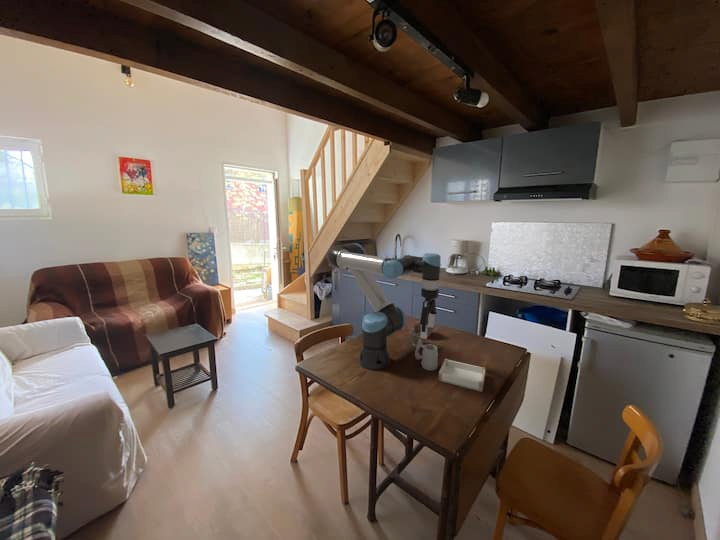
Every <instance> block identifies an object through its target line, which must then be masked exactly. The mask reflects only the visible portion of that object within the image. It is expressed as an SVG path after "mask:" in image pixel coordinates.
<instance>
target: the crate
mask: <svg viewBox="0 0 720 540" xmlns="http://www.w3.org/2000/svg"><path fill="white" fill-rule="evenodd" d="M437 377H438V379H437V380H438V381H439V382H442V383H445V384H446V383H447V384H450V385H454V386H457V387H461V388H465V389H469V390H473V391H477V392H481V393H483V389H484V384H485V377H486V367H484V366H478V365H473V364H469V363H465V362H460V361H455V360H451V359H448V358H444V360H443V363H442V364H441V368H440V369H439V371H438V375H437Z"/></svg>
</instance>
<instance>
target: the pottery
mask: <svg viewBox="0 0 720 540" xmlns="http://www.w3.org/2000/svg"><path fill="white" fill-rule="evenodd" d="M420 320H421V316H420V317H419V321H417V322H415V323H413V328H414V329H412V330H411V331H409V333H408V335H409V339H410V342H412V346H413V347H414V348H416V346H417V344H418V339H420V340H421V341H422V345H424V343H425V342H426V341H427V339H424V338H420V335H421V324H419V322H420ZM427 324H428V322H427ZM435 329H436V324H434V328H432V327H427V338H429V337H430V335H431V334H432V333H433V332H434V331H435Z"/></svg>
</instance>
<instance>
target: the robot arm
mask: <svg viewBox="0 0 720 540" xmlns="http://www.w3.org/2000/svg"><path fill="white" fill-rule="evenodd" d="M326 255H327V256H326V258H327V261H328V264H329V265H331V266H332V267H333V268H337V269H341V270H343V269H345V270H346V271H347V272H348V273H351V274H352V275H353V277H354V278H355V281H356V283H358V285H359V287H360V288H361V290H362V292H363V294H364V295H365V297H366V298H367V300H368V301H369V303H370V305H371V307H372V309H374V312H373V311H372V312H369V313H367V314H365V315H364V316H363V318H362V324H361V327H362V330H361V331H362V336H361V337H362V347H361V349H360V353H359V355H358V363H359V365H360V366H362V367H363V368H365V369H368V370H381V369H386V368H387V367H388V366H389V365H390V364H391V356H390V353H389V350H388V337H390V336H392V335H394V334H396V333H398V332H400V331H401V330H402V329H404V328H405V326H406V323H407V316H406V313H405V311H404V310H403V308H401V307H398V306H396V305H395V304H394V302H392V301H389V300H388V298H387V297H386V295H385V293H384V292H383V290H382V289H381V287H380V285H379V284H378V282H377V281H376V279H375V276H373V274H372V273H374V274H375V273H376V274H380V275H384V276H385V277H386V278H388V279H397V278H399V277H401V276H402V277H403V276H404V275H407V274H411V273H415V274H419V275H420V274H421V289H420V292H421V293H420V295H421V297H422V298H424V299H425V300H423V302H422V307H421V308H422V309H421V315H420V317H421V320H420V319H419V321H420V322H419V324H421V335H420V338H424V339H426V340H428V337H427V327H432V328H434V325H435V315H437V307H436V306H437V305H436V299H437V298H438V297H439V291H440V290H439V286H440V285H441V281H440V274H441V266H442V264H441V255H440V254H438V253H429V252H427V253H423V254H422V255H423V256H418V255H417V256H416V255H415V256H414V255H410V254H402V255H401V256H400V257H399V258H390V257H383V256H376V255H371V254H366V251H365V248H364V247H363V245H361V244H359V243H352V242H350V243H346V244H338V245H337V244H336V245H334V246H331V248H329V250H328V252H327V253H326ZM427 322H428V324H427Z"/></svg>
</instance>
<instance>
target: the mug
mask: <svg viewBox="0 0 720 540" xmlns="http://www.w3.org/2000/svg"><path fill="white" fill-rule="evenodd" d="M421 348H422V352H421V353H422V354H421V353H420V349H421ZM414 357H415V358H416V360H417V361H418V360H421V362H420V363H421V364H420V365H421V366H422V369H424V370H426V371H435V370H437V369H438V367H439V362H438V357H439V353H438V346H437V345H434V344H431V343H429V344H423V345H422V341H421V340H420V339H418V344H417V346H416V347H415V350H414Z"/></svg>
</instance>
